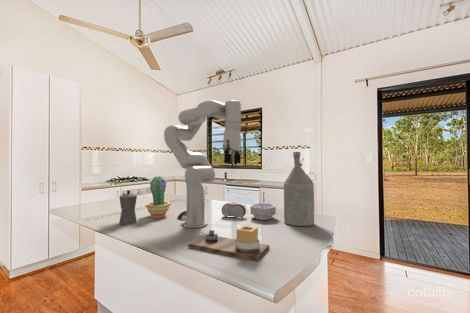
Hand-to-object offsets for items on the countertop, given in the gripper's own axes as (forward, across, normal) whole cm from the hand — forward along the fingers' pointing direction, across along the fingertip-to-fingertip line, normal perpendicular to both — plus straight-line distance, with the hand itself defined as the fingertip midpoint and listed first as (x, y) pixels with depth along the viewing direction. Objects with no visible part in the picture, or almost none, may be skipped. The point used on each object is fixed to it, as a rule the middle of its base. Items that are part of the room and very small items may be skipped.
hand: (232, 163), depth 109 cm
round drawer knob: (+32, +15, -2) cm, 35 cm away
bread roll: (+34, -16, -39) cm, 54 cm away
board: (+33, +16, +6) cm, 38 cm away
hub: (+32, +17, +15) cm, 39 cm away
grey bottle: (+34, -34, +24) cm, 53 cm away
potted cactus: (+34, -11, -58) cm, 68 cm away
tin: (+34, -30, -15) cm, 47 cm away
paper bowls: (+34, -36, +2) cm, 49 cm away
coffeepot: (+34, +8, -62) cm, 71 cm away
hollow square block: (+29, +17, +15) cm, 37 cm away
